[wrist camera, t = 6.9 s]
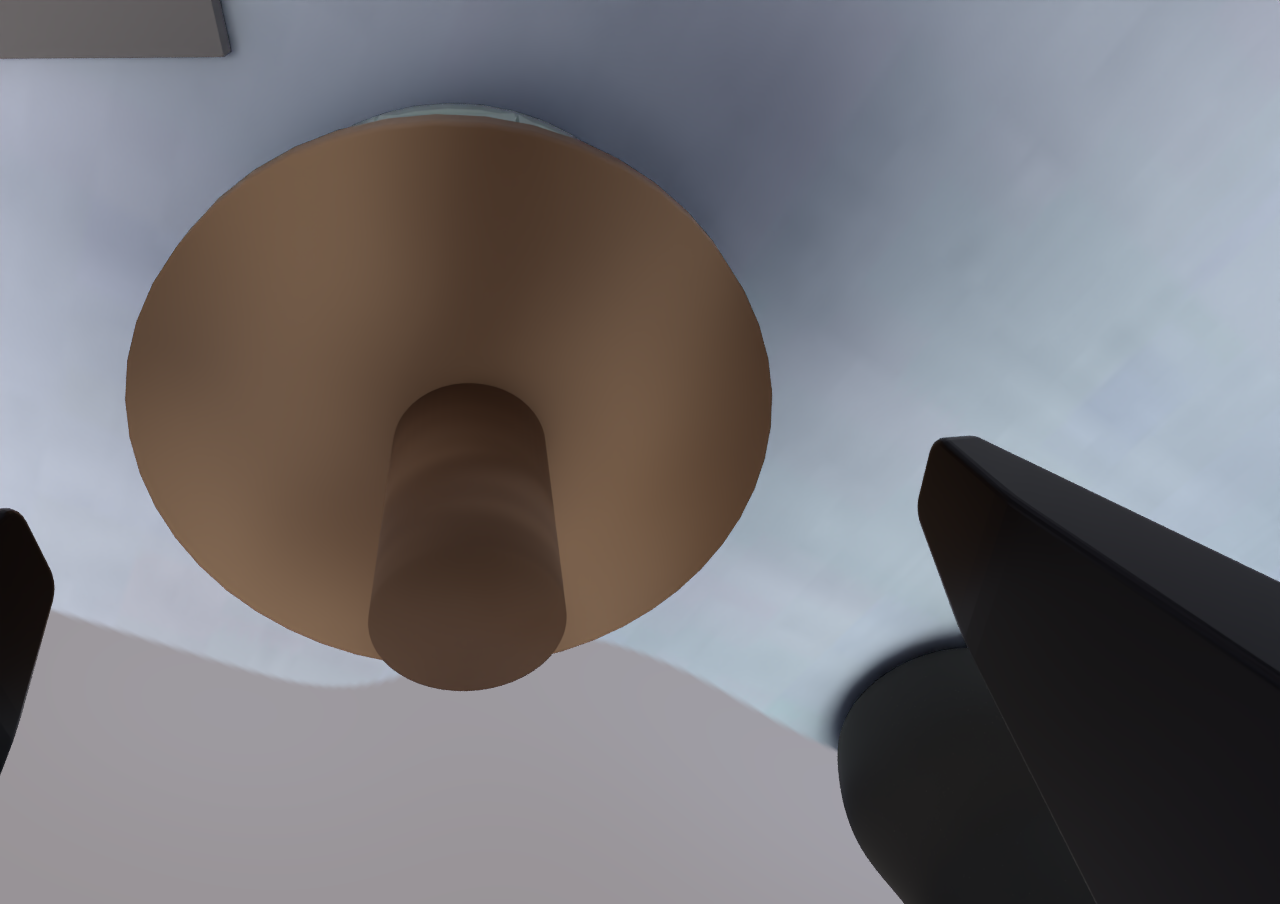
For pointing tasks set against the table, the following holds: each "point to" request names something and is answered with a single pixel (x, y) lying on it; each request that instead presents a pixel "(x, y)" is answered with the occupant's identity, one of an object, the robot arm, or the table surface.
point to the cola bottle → (949, 792)
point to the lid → (449, 395)
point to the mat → (112, 29)
